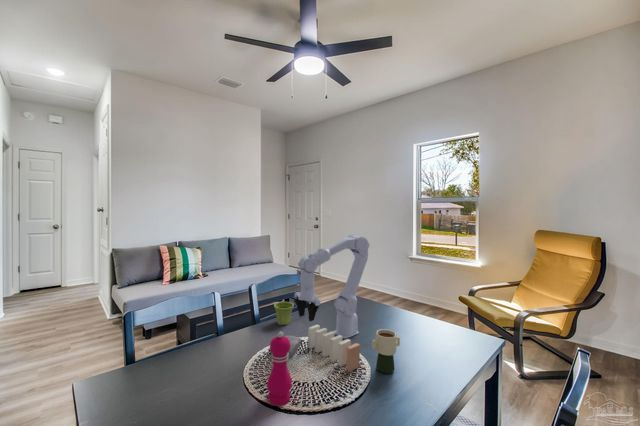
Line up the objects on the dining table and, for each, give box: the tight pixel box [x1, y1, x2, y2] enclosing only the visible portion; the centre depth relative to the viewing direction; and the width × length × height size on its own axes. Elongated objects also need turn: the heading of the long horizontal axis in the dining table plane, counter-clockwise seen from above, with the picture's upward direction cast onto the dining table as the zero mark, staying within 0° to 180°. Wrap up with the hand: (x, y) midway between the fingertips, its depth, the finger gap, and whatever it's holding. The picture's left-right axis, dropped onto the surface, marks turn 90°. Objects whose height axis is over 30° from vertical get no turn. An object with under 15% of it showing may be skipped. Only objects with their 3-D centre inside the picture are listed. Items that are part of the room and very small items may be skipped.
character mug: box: [371, 328, 401, 374], centre depth 104 cm, size 11×7×13 cm, turn 107°
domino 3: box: [321, 331, 336, 358], centre depth 114 cm, size 5×2×8 cm, turn 132°
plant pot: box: [273, 301, 295, 326], centre depth 143 cm, size 9×9×9 cm
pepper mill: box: [266, 331, 293, 406], centre depth 87 cm, size 7×7×20 cm
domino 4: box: [329, 335, 344, 363], centre depth 111 cm, size 5×2×8 cm, turn 132°
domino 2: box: [314, 327, 328, 354], centre depth 117 cm, size 5×2×8 cm, turn 132°
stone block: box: [284, 335, 302, 358], centre depth 117 cm, size 12×5×10 cm
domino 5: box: [337, 338, 352, 367], centre depth 108 cm, size 5×2×8 cm, turn 132°
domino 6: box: [345, 342, 361, 372], centre depth 104 cm, size 5×2×8 cm, turn 132°
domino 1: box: [307, 324, 321, 350], centre depth 120 cm, size 5×2×8 cm, turn 132°
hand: (306, 318), depth 124 cm, fingers open, 6 cm apart
